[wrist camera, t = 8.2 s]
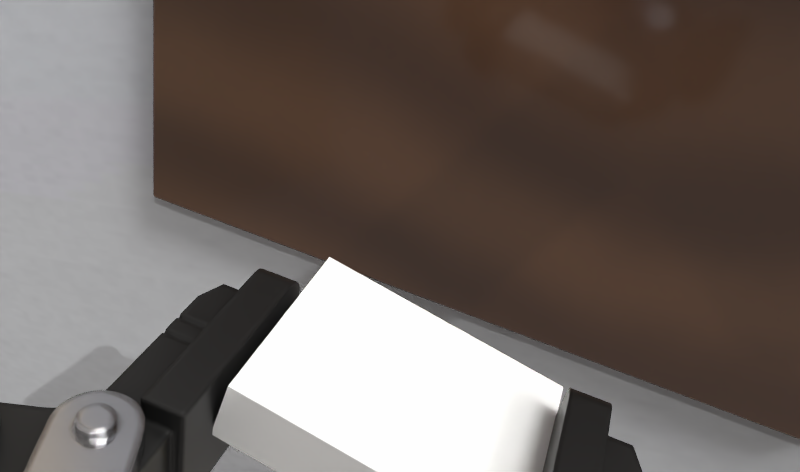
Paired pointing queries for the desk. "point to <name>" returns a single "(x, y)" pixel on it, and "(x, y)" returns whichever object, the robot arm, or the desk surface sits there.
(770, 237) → the walnut board
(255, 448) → the eraser
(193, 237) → the desk surface
